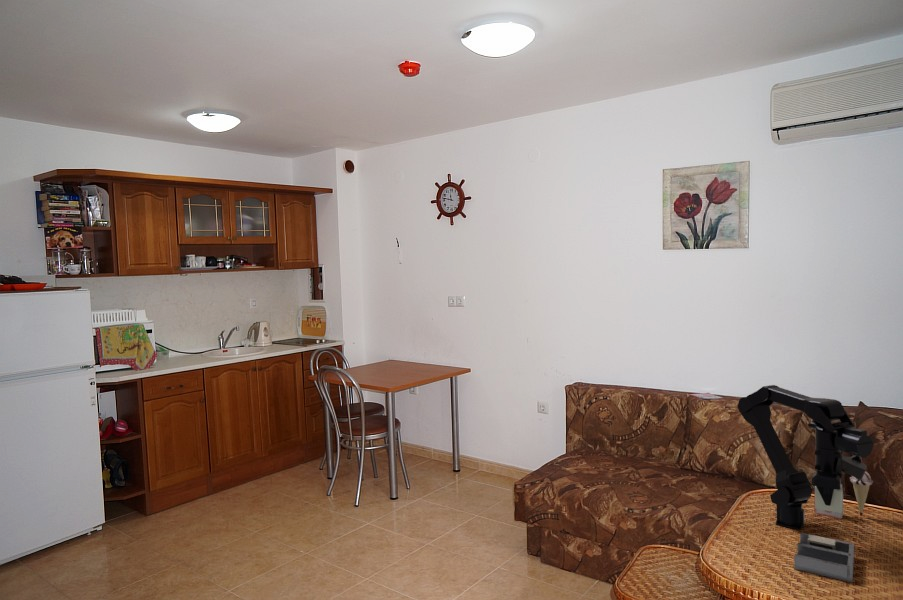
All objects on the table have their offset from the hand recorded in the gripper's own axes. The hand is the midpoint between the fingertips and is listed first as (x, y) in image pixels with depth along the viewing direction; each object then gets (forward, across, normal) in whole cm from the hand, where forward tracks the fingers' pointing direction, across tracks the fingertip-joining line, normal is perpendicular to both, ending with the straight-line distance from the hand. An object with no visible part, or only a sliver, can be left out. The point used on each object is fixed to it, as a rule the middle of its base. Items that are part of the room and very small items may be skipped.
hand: (828, 502), depth 158 cm
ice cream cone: (+11, +22, -7) cm, 26 cm away
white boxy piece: (+11, +20, +1) cm, 23 cm away
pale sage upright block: (+2, 0, 0) cm, 2 cm away
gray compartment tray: (+11, -13, 0) cm, 17 cm away
